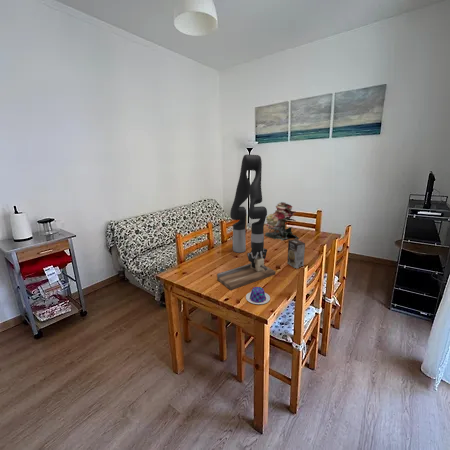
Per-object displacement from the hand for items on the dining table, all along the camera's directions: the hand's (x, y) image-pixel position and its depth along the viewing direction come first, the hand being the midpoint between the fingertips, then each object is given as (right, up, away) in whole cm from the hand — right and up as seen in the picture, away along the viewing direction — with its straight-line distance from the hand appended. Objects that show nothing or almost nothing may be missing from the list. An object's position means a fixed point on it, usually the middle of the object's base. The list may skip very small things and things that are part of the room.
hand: (257, 266), depth 150 cm
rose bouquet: (+29, +15, +67) cm, 74 cm away
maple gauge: (+1, -2, -2) cm, 3 cm away
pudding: (-3, -12, -27) cm, 29 cm away
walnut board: (-7, -5, -5) cm, 10 cm away
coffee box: (+26, -1, +9) cm, 27 cm away
